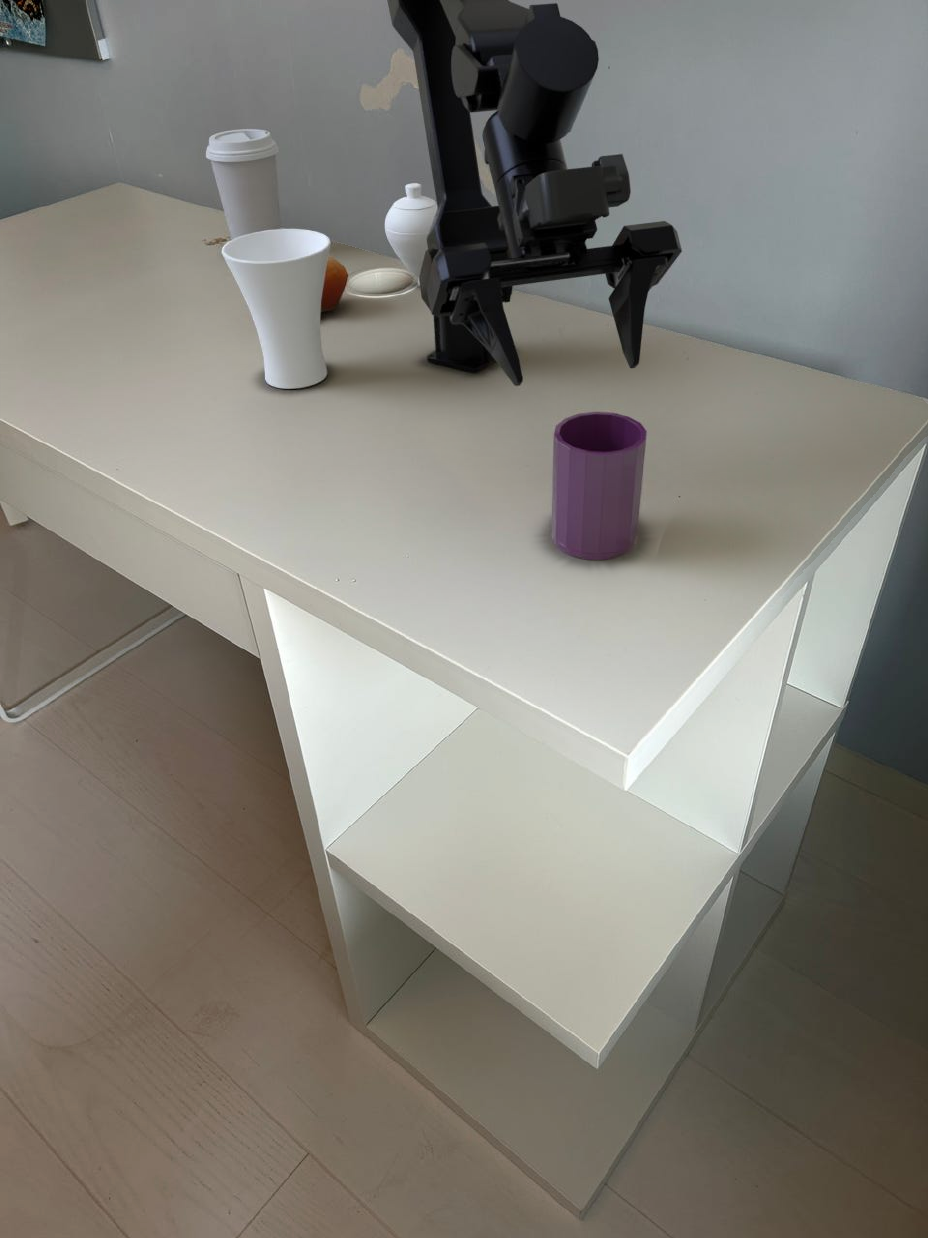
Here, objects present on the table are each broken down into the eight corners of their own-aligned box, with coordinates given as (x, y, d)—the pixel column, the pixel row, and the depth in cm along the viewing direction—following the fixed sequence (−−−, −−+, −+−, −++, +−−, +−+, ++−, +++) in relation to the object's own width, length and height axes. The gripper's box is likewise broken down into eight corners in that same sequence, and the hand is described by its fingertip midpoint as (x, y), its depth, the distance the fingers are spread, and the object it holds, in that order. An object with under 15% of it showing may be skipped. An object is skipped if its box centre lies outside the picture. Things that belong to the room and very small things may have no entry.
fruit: (260, 310, 111) (269, 240, 110) (294, 324, 119) (303, 258, 118) (321, 318, 109) (331, 246, 108) (352, 331, 116) (361, 264, 115)
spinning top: (439, 297, 117) (434, 194, 110) (381, 293, 119) (372, 191, 111) (456, 276, 123) (452, 177, 115) (400, 273, 125) (393, 175, 117)
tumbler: (536, 544, 74) (537, 439, 68) (577, 505, 78) (581, 404, 72) (612, 569, 71) (620, 462, 65) (650, 528, 75) (661, 424, 69)
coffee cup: (287, 262, 130) (269, 142, 120) (218, 264, 130) (194, 145, 121) (297, 241, 137) (281, 126, 128) (232, 243, 138) (211, 128, 128)
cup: (355, 388, 97) (339, 253, 89) (252, 405, 95) (226, 268, 87) (336, 350, 105) (320, 223, 97) (241, 364, 103) (216, 235, 95)
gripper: (426, 125, 63) (476, 346, 61) (684, 100, 67) (739, 308, 65) (408, 218, 74) (451, 408, 72) (631, 192, 77) (676, 373, 76)
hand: (577, 374), depth 71 cm, fingers open, 9 cm apart
